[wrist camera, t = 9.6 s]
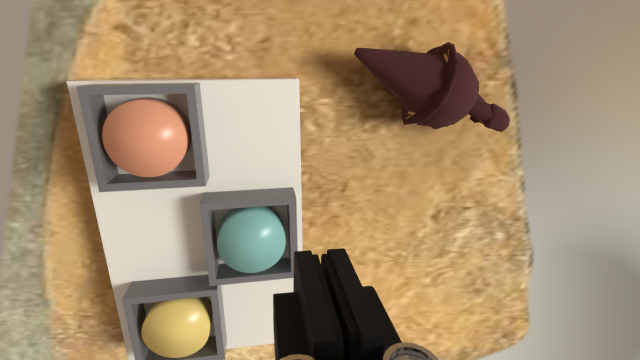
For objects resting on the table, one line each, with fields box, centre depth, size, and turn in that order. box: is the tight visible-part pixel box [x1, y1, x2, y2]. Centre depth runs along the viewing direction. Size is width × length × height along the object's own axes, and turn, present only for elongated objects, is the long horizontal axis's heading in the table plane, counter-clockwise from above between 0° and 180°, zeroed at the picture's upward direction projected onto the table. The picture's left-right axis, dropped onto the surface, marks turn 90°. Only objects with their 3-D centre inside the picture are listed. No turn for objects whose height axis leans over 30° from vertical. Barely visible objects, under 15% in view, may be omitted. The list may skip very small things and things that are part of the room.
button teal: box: [217, 206, 286, 273], centre depth 31 cm, size 6×6×2 cm
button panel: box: [67, 77, 302, 360], centre depth 32 cm, size 26×17×6 cm, turn 0°
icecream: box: [354, 42, 510, 132], centre depth 30 cm, size 7×7×15 cm
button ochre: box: [141, 297, 213, 358], centre depth 32 cm, size 6×6×2 cm
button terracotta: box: [102, 97, 192, 177], centre depth 27 cm, size 6×6×2 cm
